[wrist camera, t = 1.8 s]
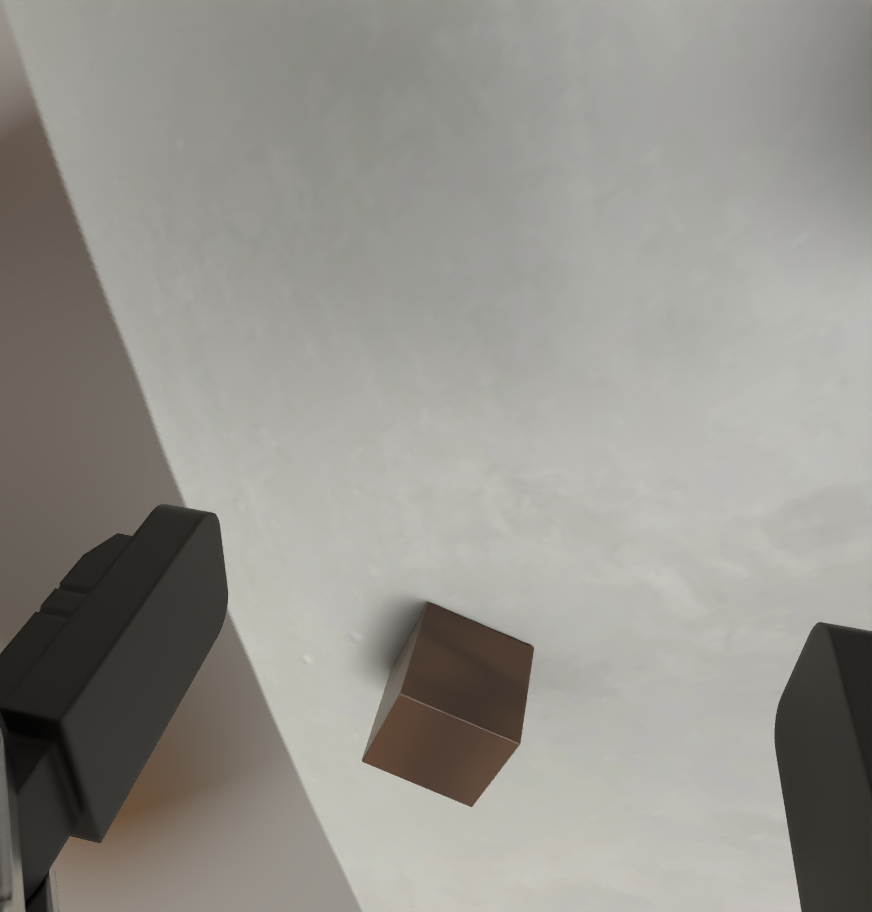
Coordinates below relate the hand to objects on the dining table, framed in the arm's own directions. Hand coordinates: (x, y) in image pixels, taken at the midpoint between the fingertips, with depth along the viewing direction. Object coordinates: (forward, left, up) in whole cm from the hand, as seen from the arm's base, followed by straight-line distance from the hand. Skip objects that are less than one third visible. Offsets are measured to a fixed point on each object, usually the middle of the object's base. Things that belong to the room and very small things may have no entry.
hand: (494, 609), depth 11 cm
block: (+19, -6, -17) cm, 26 cm away
